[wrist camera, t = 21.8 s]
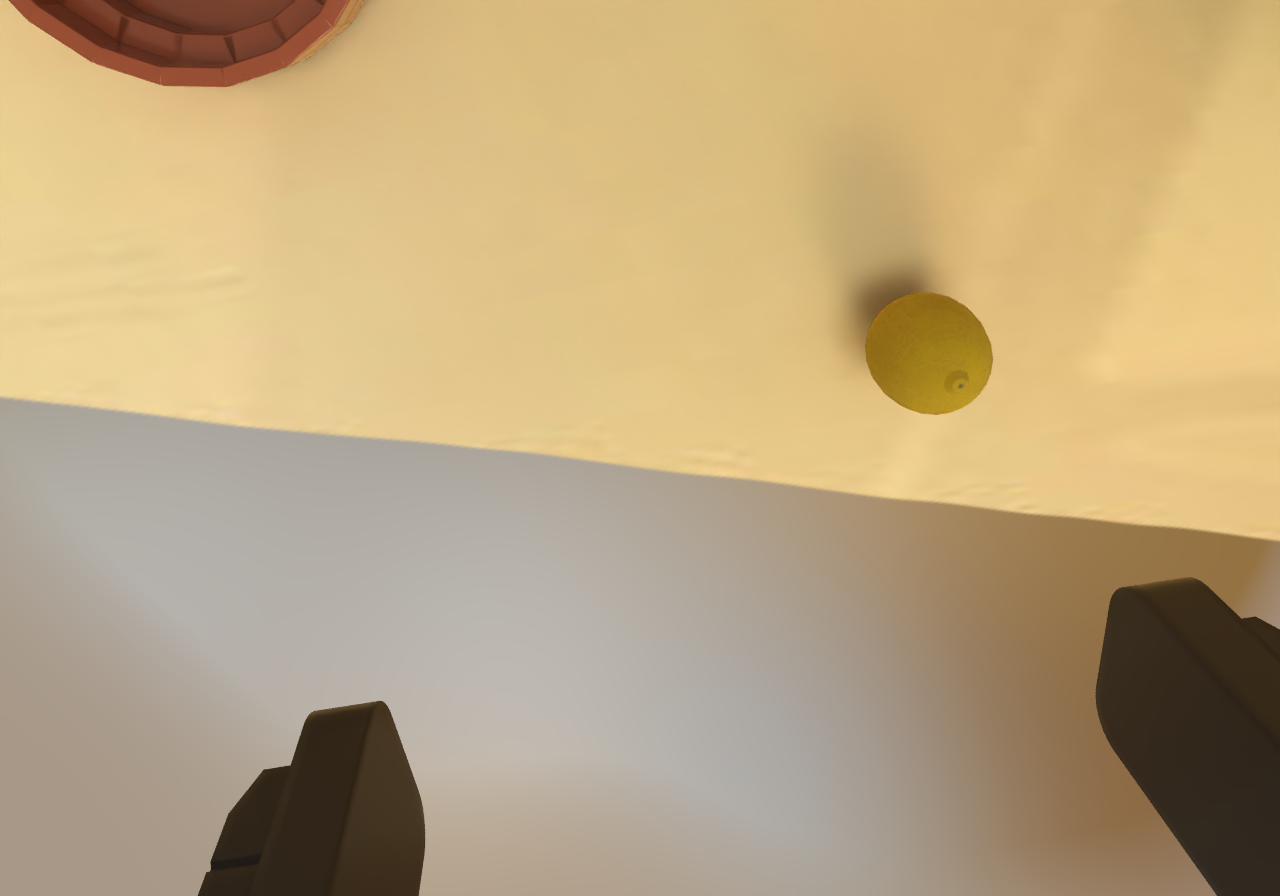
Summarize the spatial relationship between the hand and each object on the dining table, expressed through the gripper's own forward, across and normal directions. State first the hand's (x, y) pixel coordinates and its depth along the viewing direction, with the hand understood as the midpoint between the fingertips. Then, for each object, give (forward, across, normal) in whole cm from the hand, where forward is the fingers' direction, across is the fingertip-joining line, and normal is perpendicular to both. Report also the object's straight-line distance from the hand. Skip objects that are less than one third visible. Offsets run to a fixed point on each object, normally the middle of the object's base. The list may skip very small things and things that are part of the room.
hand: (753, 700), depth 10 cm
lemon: (+36, -14, +12) cm, 41 cm away
